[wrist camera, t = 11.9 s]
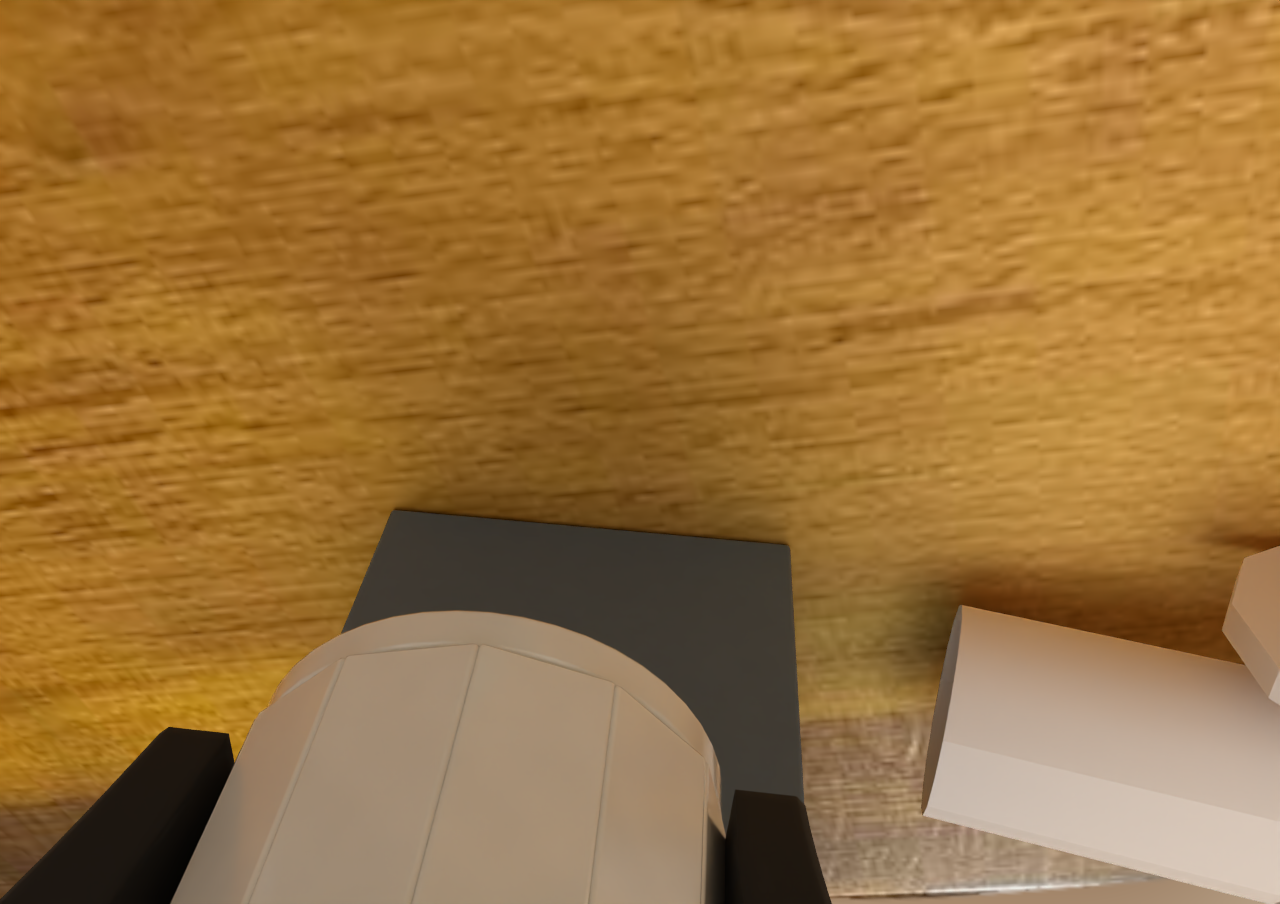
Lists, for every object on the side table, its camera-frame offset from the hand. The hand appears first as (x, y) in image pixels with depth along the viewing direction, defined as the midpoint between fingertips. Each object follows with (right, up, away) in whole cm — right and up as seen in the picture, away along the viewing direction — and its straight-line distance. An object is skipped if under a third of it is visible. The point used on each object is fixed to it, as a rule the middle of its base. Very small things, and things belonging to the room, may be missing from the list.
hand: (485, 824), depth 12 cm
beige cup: (0, 0, 0) cm, 1 cm away
